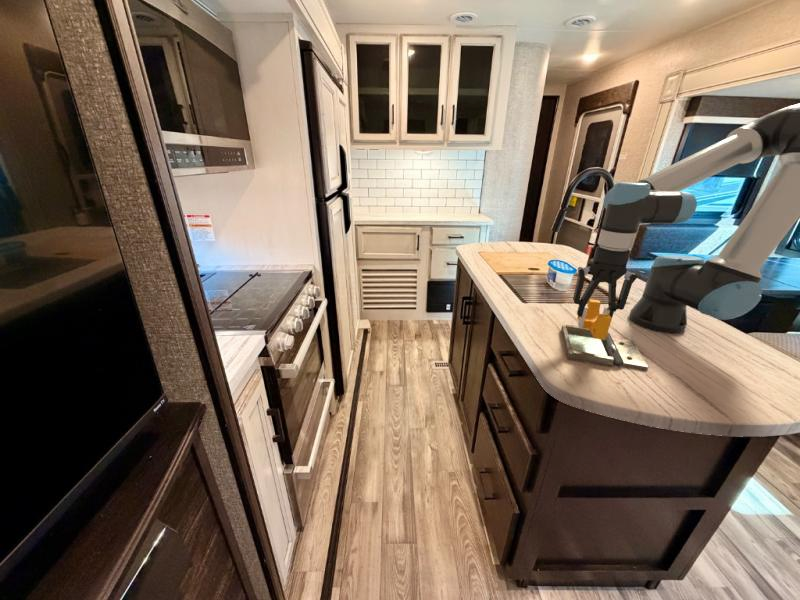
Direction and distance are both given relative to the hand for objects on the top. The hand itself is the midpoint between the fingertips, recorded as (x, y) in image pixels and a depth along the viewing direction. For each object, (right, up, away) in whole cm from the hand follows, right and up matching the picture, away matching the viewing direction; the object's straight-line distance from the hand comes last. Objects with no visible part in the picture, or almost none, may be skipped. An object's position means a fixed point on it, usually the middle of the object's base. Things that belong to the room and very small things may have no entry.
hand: (590, 327), depth 91 cm
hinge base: (+5, -7, +1) cm, 8 cm away
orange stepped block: (0, 0, 0) cm, 0 cm away
